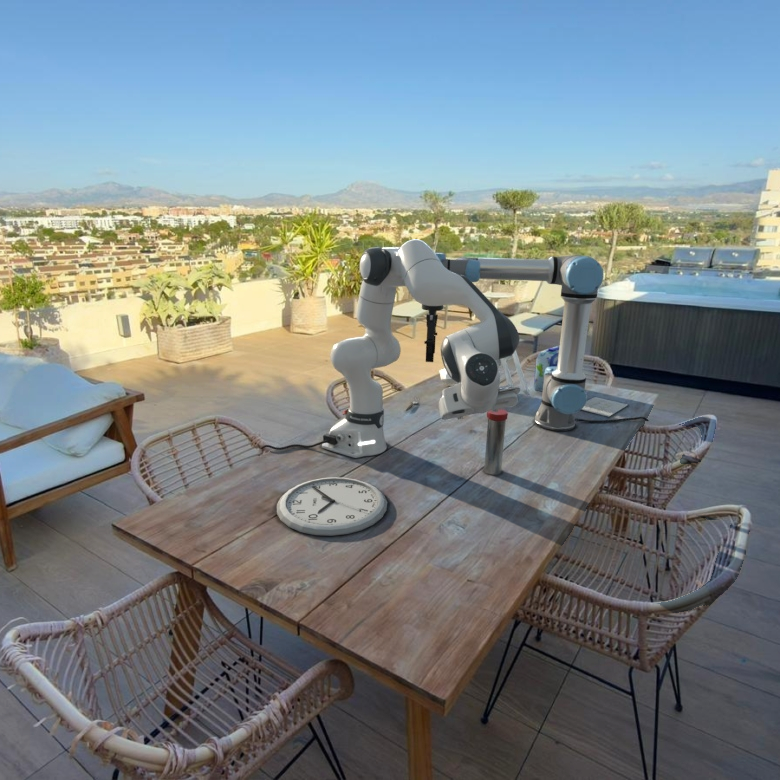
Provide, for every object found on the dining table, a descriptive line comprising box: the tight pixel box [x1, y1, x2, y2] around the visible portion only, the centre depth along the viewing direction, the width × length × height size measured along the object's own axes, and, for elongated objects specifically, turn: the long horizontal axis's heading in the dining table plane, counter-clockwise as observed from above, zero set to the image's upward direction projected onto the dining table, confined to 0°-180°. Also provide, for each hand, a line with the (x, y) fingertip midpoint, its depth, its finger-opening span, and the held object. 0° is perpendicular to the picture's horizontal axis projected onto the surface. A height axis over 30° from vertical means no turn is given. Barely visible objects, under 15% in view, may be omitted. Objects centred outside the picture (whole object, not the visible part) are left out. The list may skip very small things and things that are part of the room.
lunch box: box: [533, 345, 560, 393], centre depth 245 cm, size 26×11×21 cm, turn 135°
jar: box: [483, 418, 507, 476], centre depth 162 cm, size 5×5×20 cm
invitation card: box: [580, 396, 629, 418], centre depth 226 cm, size 21×1×15 cm
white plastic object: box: [438, 349, 531, 397], centre depth 245 cm, size 37×45×31 cm
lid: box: [486, 408, 509, 421], centre depth 159 cm, size 6×6×2 cm
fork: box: [405, 396, 421, 411], centre depth 222 cm, size 3×16×2 cm, turn 160°
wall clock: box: [276, 476, 388, 537], centre depth 142 cm, size 30×2×30 cm
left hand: (477, 412), depth 141 cm, fingers open, 8 cm apart
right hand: (430, 357), depth 190 cm, fingers open, 13 cm apart
